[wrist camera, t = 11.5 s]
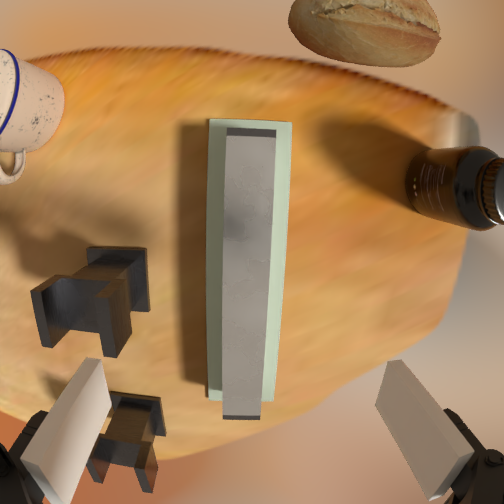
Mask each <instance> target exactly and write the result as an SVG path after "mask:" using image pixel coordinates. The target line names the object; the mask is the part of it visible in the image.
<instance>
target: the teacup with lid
mask: <svg viewBox="0 0 504 504" xmlns="http://www.w3.org/2000/svg"><path fill="white" fill-rule="evenodd" d="M64 99H65V98H64V91H63V87H62V85H61V83H60V81H59V80H58V78H57V77H55V76H54V75H53V74H51V73H49V72H47V71H45V70H42V69H40V68H38V67H36V66H34V65H32V64H30V63H27V62H25V61H23V60H21V59H19V58H16V57H15V56H14V55H13V54H12V53H11V52H10V51H8V50H5V49H0V152H15V167H14V170H13V172H12V173H11V175H10V176H9V175H6V174H5V173H4V172H3V170H2V168H1V165H0V184H1V185H8V184H11V183H13V182H15V181H16V180H18V179H19V178H20V176H21V175H22V173H23V171H24V168H25V163H26V153H27V152H32V151H35V150H37V149H38V148H40V147H41V146H43V145H44V144H45V143H46V142H47V141H48V140H49V139H50V138H51V137H52V135H53V134H54V132H55V131H56V129H57V127H58V125H59V123H60V121H61V118H62V115H63V110H64Z"/></svg>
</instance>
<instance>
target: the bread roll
mask: <svg viewBox="0 0 504 504" xmlns="http://www.w3.org/2000/svg"><path fill="white" fill-rule="evenodd" d="M288 24H289V28H290V29H291V32H292V33H293V34H294V35H295V37H296V38H297V40H298V41H299V42H300V43H301V44H302V45H303V46H305V47H306V48H308V49H310V50H311V51H313V52H315V53H317V54H318V55H321V56H324V57H327V58H330V59H334V60H338V61H342V62H348V63H355V64H360V65H367V66H379V67H409V66H413V65H416V64H419V63H421V62H423V61H425V60H426V59H427V58H429V57H430V56H431V55H432V54H433V53H434V51H435V48H436V46H437V44H438V43H439V41H440V40H441V37H439V33H440V27H439V24H438V20H437V16H436V15H435V13H434V11H433V10H432V8H431V6H430V5H429V3H428V2H427V0H296V1H295V2H294V3H293V5H292V7H291V11H290V13H289V18H288Z"/></svg>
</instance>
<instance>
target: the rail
mask: <svg viewBox="0 0 504 504" xmlns="http://www.w3.org/2000/svg"><path fill="white" fill-rule="evenodd" d="M275 156H276V130H274V129H256V128H227V135H226V160H225V188H224V224H223V277H222V398H223V419H226V420H260V412H261V399H262V386H263V372H264V357H265V343H266V327H267V312H268V295H269V278H270V260H271V242H272V222H273V201H274V179H275Z"/></svg>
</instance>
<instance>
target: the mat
mask: <svg viewBox="0 0 504 504" xmlns="http://www.w3.org/2000/svg"><path fill="white" fill-rule="evenodd" d="M227 128H256V129H274V130H276V156H275V179H274V201H273V222H272V242H271V260H270V278H269V295H268V312H267V327H266V343H265V357H264V372H263V386H262V399H261V401H274V391H275V381H276V371H277V360H278V349H279V337H280V325H281V313H282V300H283V287H284V273H285V258H286V243H287V226H288V208H289V189H290V167H291V142H292V122H280V121H264V120H241V119H210V123H209V144H208V171H207V209H206V330H207V367H208V393H209V400H213V401H223V398H222V277H223V224H224V188H225V160H226V135H227Z"/></svg>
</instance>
